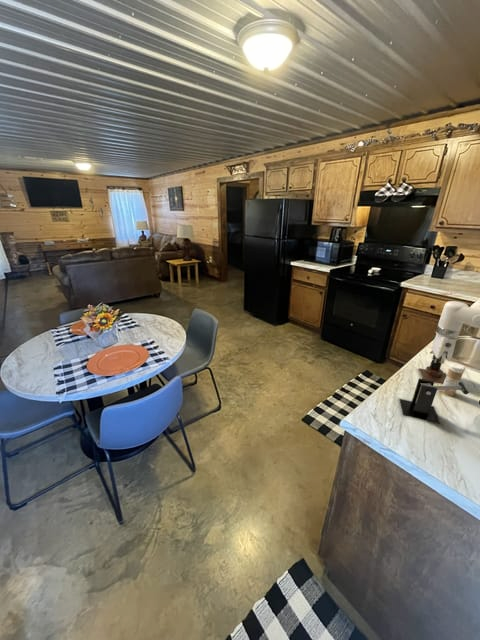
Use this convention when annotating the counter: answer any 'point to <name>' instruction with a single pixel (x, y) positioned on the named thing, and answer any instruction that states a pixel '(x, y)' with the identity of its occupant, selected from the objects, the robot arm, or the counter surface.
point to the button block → (432, 375)
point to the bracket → (421, 403)
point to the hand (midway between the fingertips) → (434, 369)
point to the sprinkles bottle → (453, 377)
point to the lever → (450, 387)
